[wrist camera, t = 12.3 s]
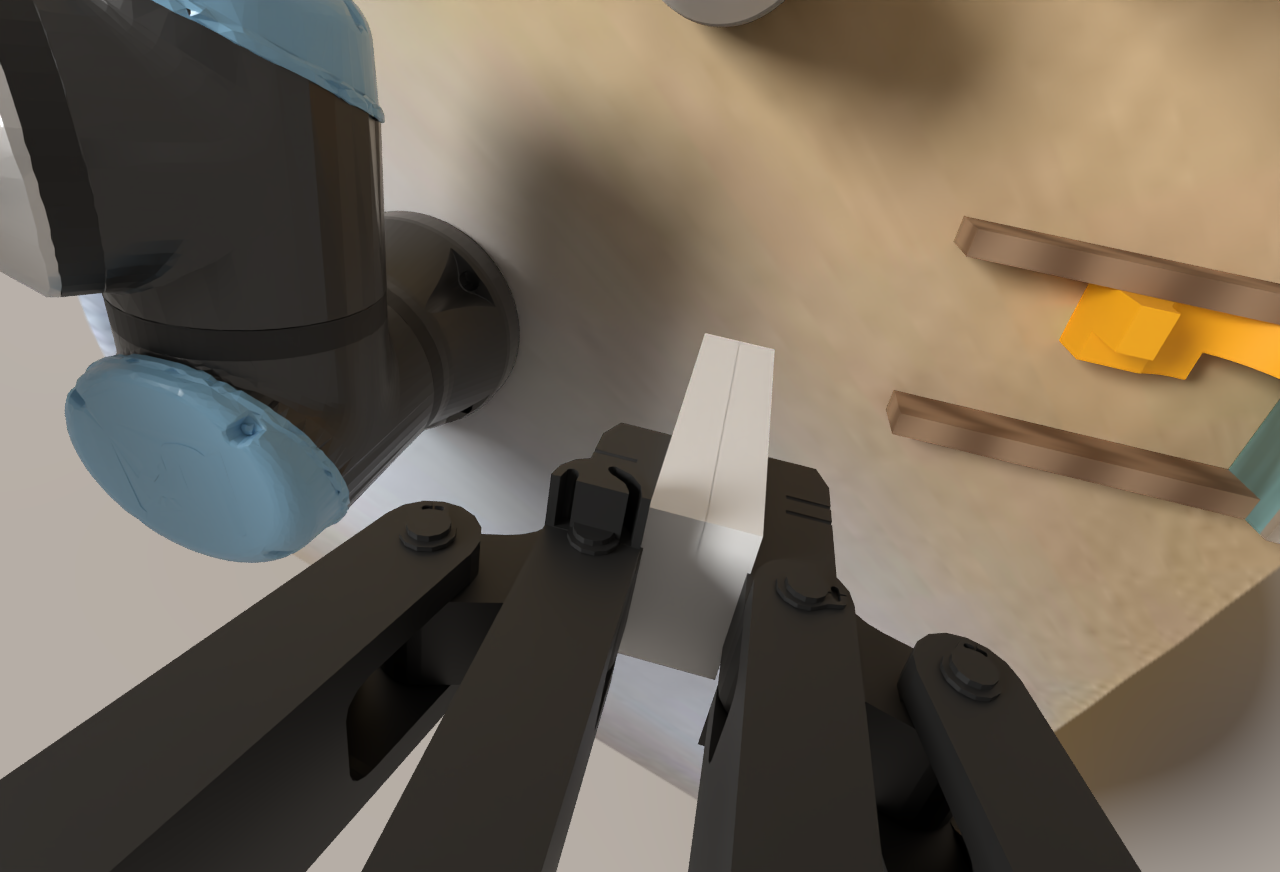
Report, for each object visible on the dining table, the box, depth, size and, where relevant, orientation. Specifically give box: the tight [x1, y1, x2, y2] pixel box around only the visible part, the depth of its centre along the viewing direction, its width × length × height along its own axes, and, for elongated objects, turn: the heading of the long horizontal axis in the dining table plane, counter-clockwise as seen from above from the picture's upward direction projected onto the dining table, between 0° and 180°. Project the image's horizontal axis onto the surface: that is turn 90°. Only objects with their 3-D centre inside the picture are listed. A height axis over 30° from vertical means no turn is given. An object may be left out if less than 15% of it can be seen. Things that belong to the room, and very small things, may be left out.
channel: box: [886, 216, 1280, 544], centre depth 40 cm, size 24×13×6 cm, turn 79°
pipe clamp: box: [1059, 283, 1280, 380], centre depth 38 cm, size 12×4×6 cm, turn 79°
